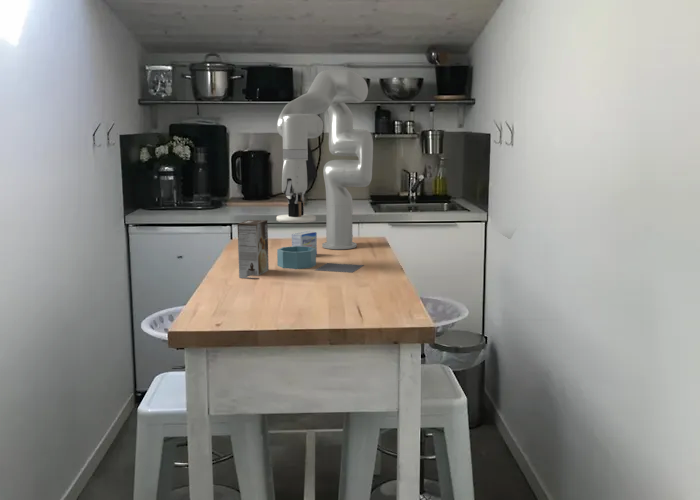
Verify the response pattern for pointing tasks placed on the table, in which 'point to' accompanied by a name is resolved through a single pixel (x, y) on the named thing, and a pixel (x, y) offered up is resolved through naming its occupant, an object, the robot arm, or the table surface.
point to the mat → (339, 267)
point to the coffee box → (253, 248)
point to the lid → (296, 219)
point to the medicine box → (305, 239)
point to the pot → (296, 257)
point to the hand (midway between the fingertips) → (296, 215)
